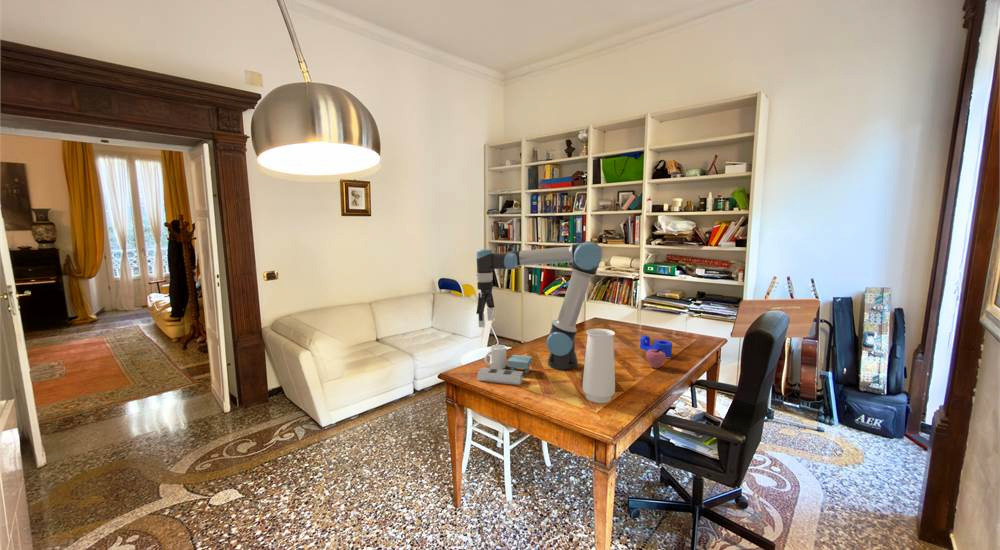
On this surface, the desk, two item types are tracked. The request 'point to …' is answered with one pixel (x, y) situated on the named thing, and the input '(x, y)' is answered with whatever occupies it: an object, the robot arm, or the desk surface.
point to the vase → (599, 366)
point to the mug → (496, 357)
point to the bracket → (656, 345)
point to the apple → (655, 358)
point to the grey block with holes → (500, 376)
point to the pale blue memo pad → (519, 362)
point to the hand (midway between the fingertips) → (486, 323)
